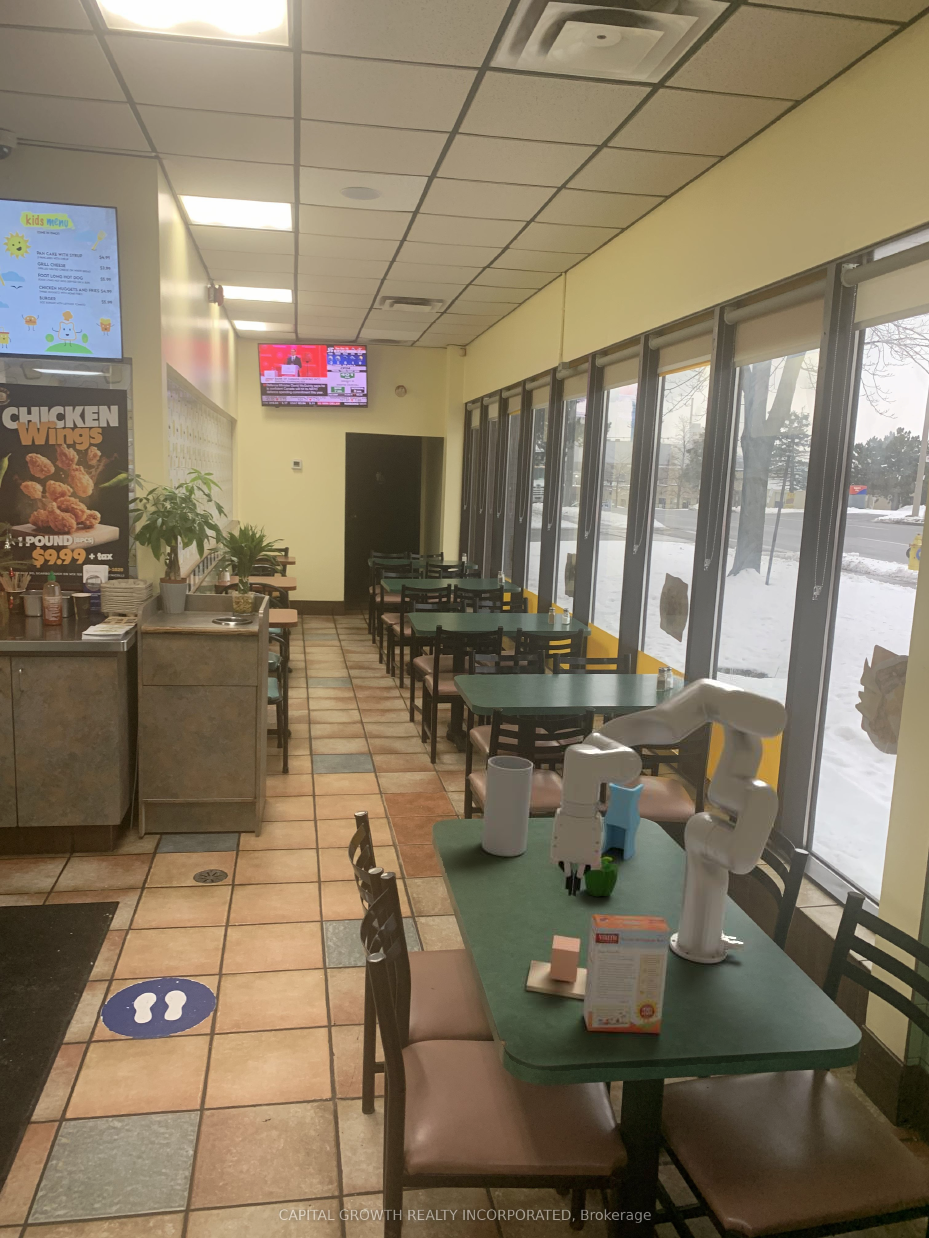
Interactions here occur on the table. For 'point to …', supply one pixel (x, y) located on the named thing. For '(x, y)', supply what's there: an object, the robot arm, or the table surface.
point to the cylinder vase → (507, 805)
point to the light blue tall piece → (622, 819)
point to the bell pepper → (602, 879)
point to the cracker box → (626, 973)
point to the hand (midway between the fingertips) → (572, 892)
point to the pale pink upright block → (564, 958)
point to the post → (555, 981)
